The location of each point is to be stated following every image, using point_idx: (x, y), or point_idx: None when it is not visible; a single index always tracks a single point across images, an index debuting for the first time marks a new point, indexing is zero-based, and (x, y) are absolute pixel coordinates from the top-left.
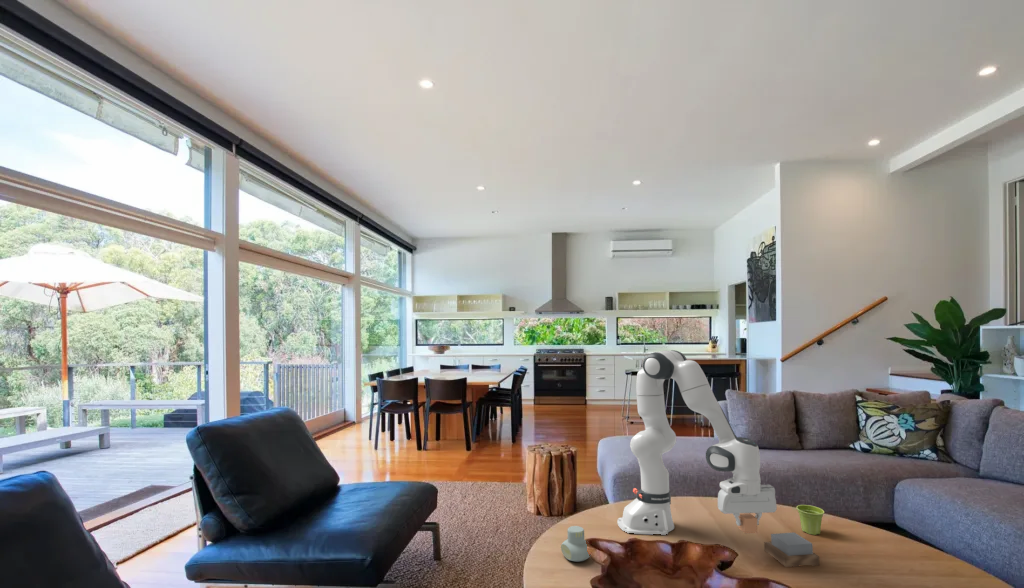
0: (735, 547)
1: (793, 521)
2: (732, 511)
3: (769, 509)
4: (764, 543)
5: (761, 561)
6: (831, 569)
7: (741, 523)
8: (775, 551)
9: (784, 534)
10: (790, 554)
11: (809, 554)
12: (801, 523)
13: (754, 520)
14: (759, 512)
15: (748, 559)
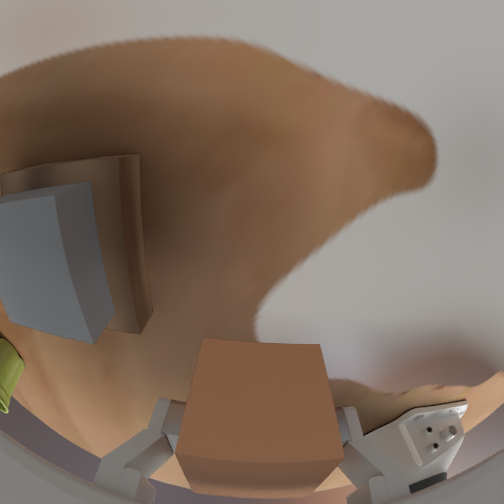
0: None
1: (38, 395)
2: (468, 488)
3: (12, 470)
4: (142, 329)
5: (226, 221)
6: (9, 136)
7: None
8: (127, 246)
9: (40, 320)
10: (77, 183)
11: (15, 192)
12: (16, 375)
13: (213, 438)
14: (120, 499)
15: (280, 250)
